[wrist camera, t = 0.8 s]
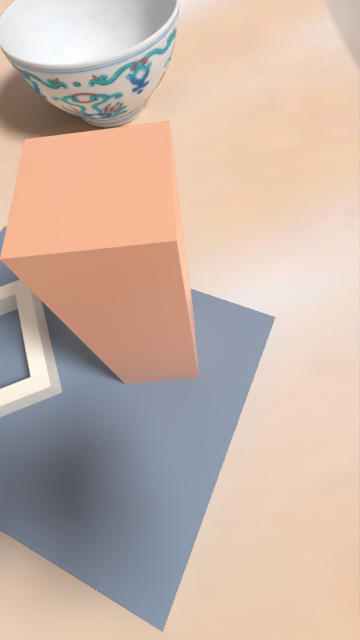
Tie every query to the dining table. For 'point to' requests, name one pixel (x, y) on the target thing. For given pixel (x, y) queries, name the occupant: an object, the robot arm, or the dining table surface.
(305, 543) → the dining table surface
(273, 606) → the dining table surface
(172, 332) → the terracotta pillar
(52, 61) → the chinaware
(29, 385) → the snap socket
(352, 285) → the dining table surface
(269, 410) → the dining table surface
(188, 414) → the board
